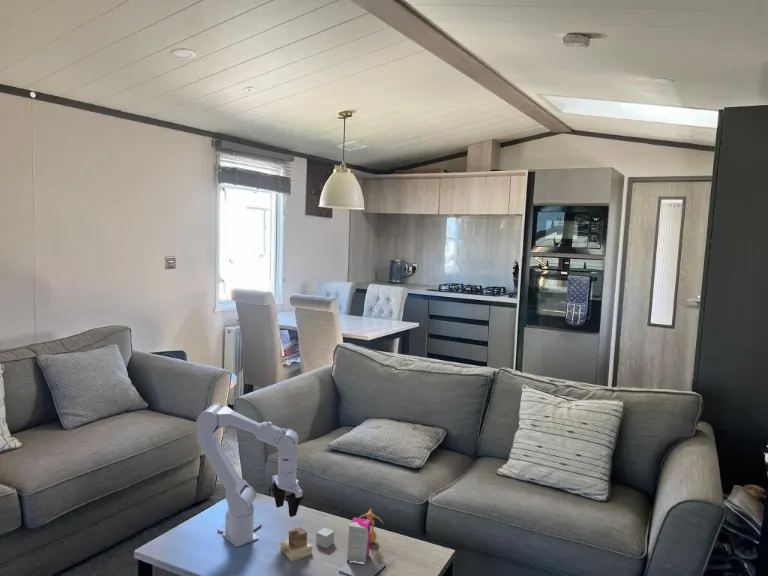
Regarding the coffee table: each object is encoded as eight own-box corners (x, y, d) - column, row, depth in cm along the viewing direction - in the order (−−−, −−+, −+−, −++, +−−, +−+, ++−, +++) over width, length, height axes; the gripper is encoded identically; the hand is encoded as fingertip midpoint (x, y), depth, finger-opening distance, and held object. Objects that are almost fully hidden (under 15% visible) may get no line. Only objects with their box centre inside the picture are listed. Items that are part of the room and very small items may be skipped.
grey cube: (316, 544, 175) (316, 532, 174) (324, 539, 178) (324, 527, 178) (325, 548, 173) (326, 536, 172) (333, 543, 176) (334, 531, 176)
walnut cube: (288, 543, 170) (288, 530, 170) (299, 539, 173) (300, 526, 172) (295, 548, 167) (295, 536, 167) (306, 544, 170) (307, 532, 169)
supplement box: (365, 565, 164) (367, 528, 164) (346, 562, 166) (347, 525, 165) (370, 554, 170) (371, 519, 169) (351, 551, 171) (352, 516, 170)
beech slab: (280, 551, 170) (280, 542, 170) (300, 544, 175) (300, 535, 175) (291, 562, 165) (292, 553, 165) (311, 554, 169) (312, 545, 169)
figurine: (383, 540, 179) (385, 504, 178) (381, 550, 173) (382, 513, 172) (358, 537, 180) (360, 502, 179) (355, 547, 174) (356, 510, 173)
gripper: (311, 474, 171) (309, 516, 172) (285, 459, 182) (284, 499, 183) (291, 480, 167) (290, 523, 168) (266, 464, 177) (265, 505, 178)
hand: (286, 511), depth 175 cm, fingers open, 7 cm apart
